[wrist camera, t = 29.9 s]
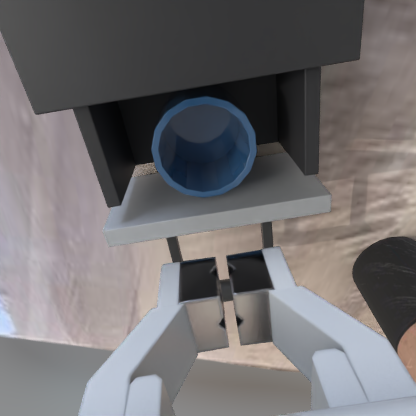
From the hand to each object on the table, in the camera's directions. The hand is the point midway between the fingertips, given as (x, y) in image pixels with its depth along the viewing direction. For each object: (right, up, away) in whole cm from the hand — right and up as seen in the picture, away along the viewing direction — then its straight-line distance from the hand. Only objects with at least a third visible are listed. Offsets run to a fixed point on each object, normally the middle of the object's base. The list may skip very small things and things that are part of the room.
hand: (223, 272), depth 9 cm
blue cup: (-1, +7, +13) cm, 15 cm away
